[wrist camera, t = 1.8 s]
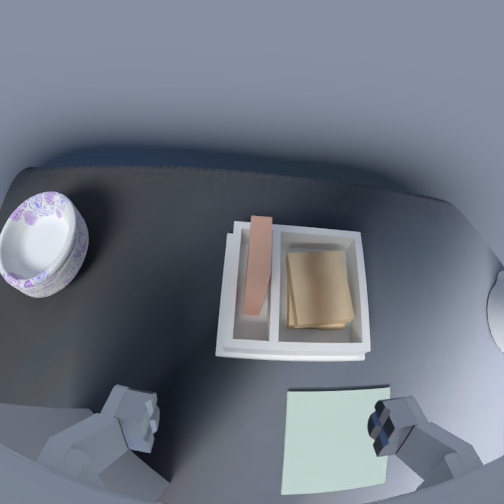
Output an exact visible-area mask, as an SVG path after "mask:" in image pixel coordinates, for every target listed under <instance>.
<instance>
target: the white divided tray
mask: <svg viewBox="0 0 504 504" xmlns="http://www.w3.org/2000/svg"><path fill="white" fill-rule="evenodd" d="M250 224H251V222H238V221H234V230H233V234H232V233H227V242H226V252H225V261H224V270H223V280H222V290H221V300H220V311H219V322H218V333H217V344H216V356H218V357H230V358H243V359H260V360H282V361H362V360H365V353H367V352H369V351H370V328H369V311H368V298H367V286H366V275H365V266H364V257H363V249H362V241H361V233H360V232H354V231H344V230H333V229H323V228H312V227H300V226H289V225H277V224H272V246H271V276H270V279H269V283H268V286H267V290H266V293H265V297H264V300H263V304H262V307H261V311H260V314H259V315H247V314H243V310H244V296H245V281H246V268H247V257H248V246H249V235H250ZM339 250H341V254H342V258H343V263H344V267H345V272H346V277H347V281H348V286H349V291H350V296H351V301H352V307H353V312H354V317H355V318H354V319H353V320H351V321H350V322H347V323H345V326H344V327H343V328H342V329H340V330H318V329H290V328H287V268H286V261H285V260H286V257H287V254H288V253H301V252H320V251H339Z"/></svg>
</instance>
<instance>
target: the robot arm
mask: <svg viewBox="0 0 504 504" xmlns="http://www.w3.org/2000/svg"><path fill="white" fill-rule="evenodd" d="M487 313H488V322H489V327H490V330H491V334H492V336H493V339H494V341H495V343H496V344H497V346H498V347H499V348H500V350H501V351H502V352H504V270H502V271H500V272H499V273H498V276H497V282H496V284H495V286H494V287H493V288H492V290H491V292H490V295H489V299H488V307H487ZM156 402H157V395H156V393H155V392H150V391H145V390H141V389H136V388H131V387H126V386H122V385H118V384H117V385H116V386H114V387H113V389H112V391H111V393H110V395H109V397H108V399H107V401H106V403H105V405H104V407H103V409H102V411H101V413H100V414H99V413H96V414H94V415H92V416H90V417H88V418H86V419H84V420H83V421H81V422H79V423H77V424H75V425H73V426H71V427H69V428H67V429H65V430H64V431H62V432H60V433H58V434H56V435H54V436H52V437H50V438H49V439H48V441H47V443H46V445H45V446H44V448H43V450H42V452H41V453H40V455H39V457H38V459H37V461H34V460H32V459H30V458H28V457H26V456H24V455H22V454H20V453H18V452H16V451H14V450H12V449H10V448H9V447H7V446H5V445H3V444H2V443H0V504H166V503H161V502H156V501H151V500H146V499H142V498H138V497H133V496H130V495H126V494H122V493H118V492H115V491H111V490H108V489H106V487H105V486H104V484H103V482H102V481H101V479H100V478H99V476H98V474H99V473H100V472H101V471H103V470H104V469H105V468H106V467H108V466H109V465H110V464H111V463H113V462H114V461H115V460H116V459H118V458H119V457H120V456H121V455H123V454H124V453H125V452H126V451H128V449H132V450H137V451H142V452H147V453H151V449H152V446H153V442H154V436H153V433H154V432H156V431H157V429H158V425H159V418H160V417H159V407H158V406H157V405H156ZM374 408H375V410H376V411H375V412H373V413H372V414H371V415H370V417H369V419H368V424H367V429H368V433H369V436H370V437H371V438H372V439H374V443H373V447H374V450H375V453H376V456H377V457H382V456H388V455H394V454H396V456H397V457H398V458H399V459H401V460H402V461H403V462H404V463H405V464H406V465H407V466H409V467H410V468H411V469H412V470H413V471H414V472H415V473H417V474H418V475H419V476H420V477H421V478H422V479H424V481H423V482H422V483H421V484H420V485H419V486H418V487H417V489H416V491H414V492H410V493H407V494H403V495H399V496H395V497H391V498H387V499H383V500H378V501H374V502H369V503H363V504H504V455H503V456H502V457H500V458H498V459H496V460H494V461H492V462H490V463H487V464H485V465H483V463H482V462H481V460H480V458H479V456H478V455H477V453H476V451H475V450H474V448H473V446H472V445H470V444H469V443H467V442H465V441H463V440H462V439H460V438H458V437H456V436H455V435H453V434H451V433H450V432H448V431H446V430H444V429H443V428H441V427H439V426H438V425H436V424H434V423H433V422H428V420H427V418H426V417H425V415H424V413H423V411H422V410H421V408H420V406H419V405H418V403H417V401H416V399H415V398H414V397H413V396H407V397H401V398H392V399H384V400H379V401H377V402H376V404H375V406H374Z"/></svg>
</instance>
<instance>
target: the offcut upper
mask: <svg viewBox="0 0 504 504" xmlns="http://www.w3.org/2000/svg"><path fill="white" fill-rule="evenodd" d="M285 261H286V268H287V275H288V282H289V289H290V297H291V304H292V312H293V320H294V328H304V327H314V326H323V325H331V324H339V323H347V322H350V321H351V320H353V319H354V318H355V317H354V312H353V307H352V301H351V296H350V291H349V286H348V281H347V277H346V272H345V267H344V263H343V258H342V254H341V250H339V251H320V252H301V253H288V254H287V257H286V260H285Z"/></svg>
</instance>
